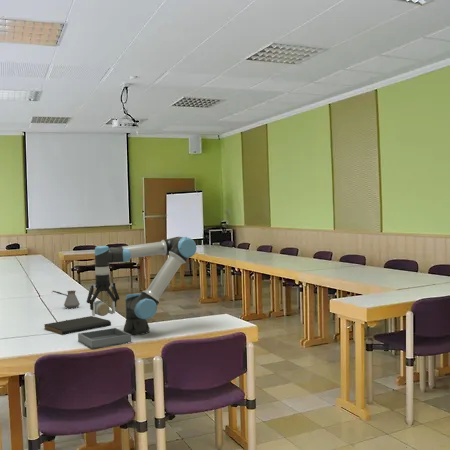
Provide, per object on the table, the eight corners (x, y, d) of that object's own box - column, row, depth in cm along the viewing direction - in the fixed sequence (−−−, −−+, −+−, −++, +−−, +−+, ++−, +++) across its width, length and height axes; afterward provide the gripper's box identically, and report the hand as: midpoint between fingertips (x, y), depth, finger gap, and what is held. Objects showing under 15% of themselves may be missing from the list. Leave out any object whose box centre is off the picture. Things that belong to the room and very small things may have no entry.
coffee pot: (75, 305, 407) (74, 286, 407) (82, 307, 398) (81, 288, 398) (49, 309, 393) (48, 290, 393) (55, 311, 384) (54, 291, 384)
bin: (115, 335, 301) (115, 327, 301) (131, 342, 283) (131, 334, 282) (78, 341, 289) (78, 333, 288) (92, 349, 270) (91, 340, 270)
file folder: (91, 315, 346) (111, 320, 329) (91, 321, 346) (111, 326, 329) (43, 323, 323) (62, 329, 306) (44, 330, 323) (62, 336, 306)
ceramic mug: (97, 317, 279) (97, 302, 279) (91, 315, 285) (91, 301, 285) (116, 315, 285) (115, 301, 285) (109, 312, 292) (109, 299, 292)
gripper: (119, 271, 294) (120, 310, 295) (79, 275, 281) (80, 316, 282) (124, 273, 288) (126, 312, 289) (84, 276, 275) (85, 318, 276)
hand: (103, 314), depth 285 cm, fingers closed on ceramic mug, 11 cm apart
